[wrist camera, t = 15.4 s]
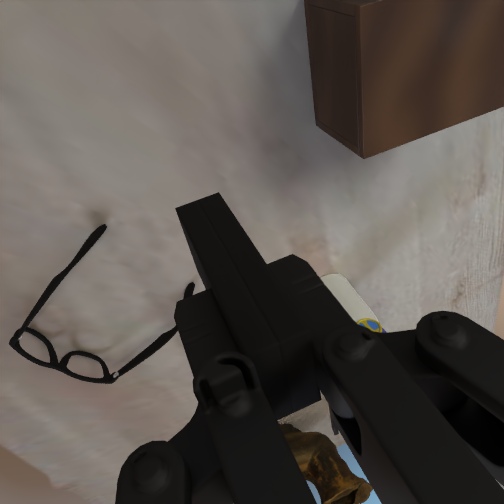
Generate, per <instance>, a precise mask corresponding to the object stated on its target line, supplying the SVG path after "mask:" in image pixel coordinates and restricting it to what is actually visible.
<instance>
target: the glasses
mask: <svg viewBox="0 0 504 504" xmlns="http://www.w3.org/2000/svg"><path fill="white" fill-rule="evenodd" d="M106 228H107V226H106V225H105V224H103V225H101V226H99V227H98V228H97V229H96V230H95V231H94V232H93V233H92V234H91V235H90V236H89V238H88V239H87V240H86V242H85V243H84V244H83V246H82V247H81V249H80V250H79V252H78V253H77V255H76V256H75V257H74V259H73V260H72V262H71V263H70V264H69V265H68V266H67V267H66V268H65V269H64V270H63V271H62V272H61V273H60V274H58V275H57V276H56V277H54V278H53V280H52V281H51V282H50V284H49V285H48V287H47V288H46V290H45V291H44V293H43V294H42V295H41V297H40V299H39V300H38V302H37V303H36V305H35V306H34V308H33V309H32V311H31V312H30V314H29V316H28V317H27V319H26V320H25V322H24V324H23V325H22V327H21V328H20V329H18V330H17V331H16V332H15V334H14V336H13V337H12V338H11V339H10V342H9V345H10V346H11V347H12V348H13V349H14V350H16V351H17V352H18V353H19V354H21V355H22V356H23V357H25V358H26V359H28V360H30V361H31V362H33V363H36V364H38V365H41V366H44V367H48V368H52V369H56V370H58V371H61V372H63V373H65V374H67V375H69V376H71V377H74V378H76V379H79V380H82V381H87V382H93V383H105V384H112V383H114V382H115V381H116V380H117V379H118V377H120V376H121V375H123V374H125V373H126V372H128V371H129V370H131V369H132V368H134V367H135V366H137V365H138V364H140V363H141V362H142V361H144V360H145V359H147V358H148V357H150V356H151V355H152V354H154V353H155V352H156V351H157V350H159V349H160V348H161V347H162V346H163V345H165V344H166V343H167V342H168V341H169V340H170V339H171V338H172V337H173V336H174V335H175V334H176V332H177V331H178V328H177V325H176V326H175V327H174V328H173V329H172V330H170V331H168V332H166V333H163V334H162V335H161V336H159V337H158V338H157V339H156V340H155V341H154V342H153V343H152V344H151V345H149V346H148V347H147V348H146V349H145V350H143V351H142V352H141V353H140V354H138V355H137V356H136V357H135V358H134V359H132V360H131V361H130V362H129V363H127V364H126V365H125V366H124V367H122V368H121V369H120V370H119V371H117V372H114V373H112V374H111V375H110V373H109V371H108V368H107V366H106V364H105V362H104V361H103V360H102V359H101V358H100V357H98V356H96V355H93V354H91V353H87V352H83V351H72V352H69V353H68V354H66V355H65V356H64V357H63V358H62V359H61V361H60V363H58V359H57V355H56V352H55V350H54V348H53V346H52V344H51V343H50V341H49V340H48V339H47V338H46V337H45V336H43V335H42V334H41V333H39V332H37V331H36V330H34V329H31V328H29V327H27V326H28V325H29V323H30V322H31V321H32V319H33V318H34V317H35V316H36V314H37V313H38V312H39V310H40V309H41V308H42V306H43V305H44V304H45V302H46V301H47V300H48V298H49V297H50V295H51V294H52V293H53V292H54V290H55V289H56V288H57V286H58V285H59V284H60V282H61V281H62V280H63V279H64V277H65V276H66V275H67V274H68V273H69V271H70V270H71V269H72V268H73V267H74V266H75V265H76V264H77V263H78V262H79V261H80V259H81V258H82V257H83V256H84V255H85V254H86V253H87V252H88V251H89V249H90V248H91V247H92V246H93V245H94V244H95V243H96V241H97V240H98V239H99V238H100V237H101V235H102V234H103V233H104V231H105V230H106ZM194 287H195V284H194V283H193V282H192V283H190V284H189V285H188V286H187V288H186V290H185V293H184V298H183V299H185V298H187V297H190V296H192V295H193V291H194ZM24 331H26V332H29V333H31V334H33V335H34V336H36V337H38V338H39V339H40V340H42V341H43V342H44V343H45V345H46V346H47V348H48V351H49V355H50V363H47V362H43V361H41V360H39V359H36V358H35V357H33V356H31V355H30V354H28V353H27V352H25V351H24V350H23V349H22V348H21V346H20V344H19V339H21V336H22V334H23V332H24ZM72 355H81V356H85V357H89V358H92V359H94V360H96V361H98V362H99V363H100V364H101V366H102V369H103V374H104V377H103V378H90V377H85V376H82V375H78V374H76V373H73V372H71V371H70V370H69V369H68V368H67V367H66V366H67V364H68V361H69V359H70V357H71V356H72Z"/></svg>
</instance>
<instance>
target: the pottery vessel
mask: <svg viewBox="0 0 504 504" xmlns="http://www.w3.org/2000/svg"><path fill="white" fill-rule="evenodd" d="M280 427H281V430H282V432H283V434H284V436H285V438H286V440H287V442H288V444H289V446H290V448H291V450H292V453H293V455H294V457H295V459H296V461H297V463H298V465H299V467H300V469H301V471H302V473H303V476H304V478H305V480H308V481H310V482H312V483H313V484H314V485H315V487H316V489H317V490H318V493H319V495H320V498H321V504H359V503H360V504H361V503H363V502H365V501H366V500H367V499H368V498H369V496H370V492H371V491H372V490H373V488H372V486H371V484H369V483H368V482H366V481H365V480H364V479H363V478H359V477H357V476H356V475H355V474H353V473H352V472H351V471H350V469H349V467H348V466H347V464H346V462H345V461H344V460H343V459H341V457H340V455H339V454H338V451H337V449H336V446H335V445H334V444H333V443H332V441H331V440H330V439H329V438H328V437H327V436H326V435H323V434H322V433H319V432H301V431H300V430H299V429H298V428H297V429H296V428H294V427H293V425H291V424H284V425H280ZM297 430H298V431H297Z"/></svg>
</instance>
